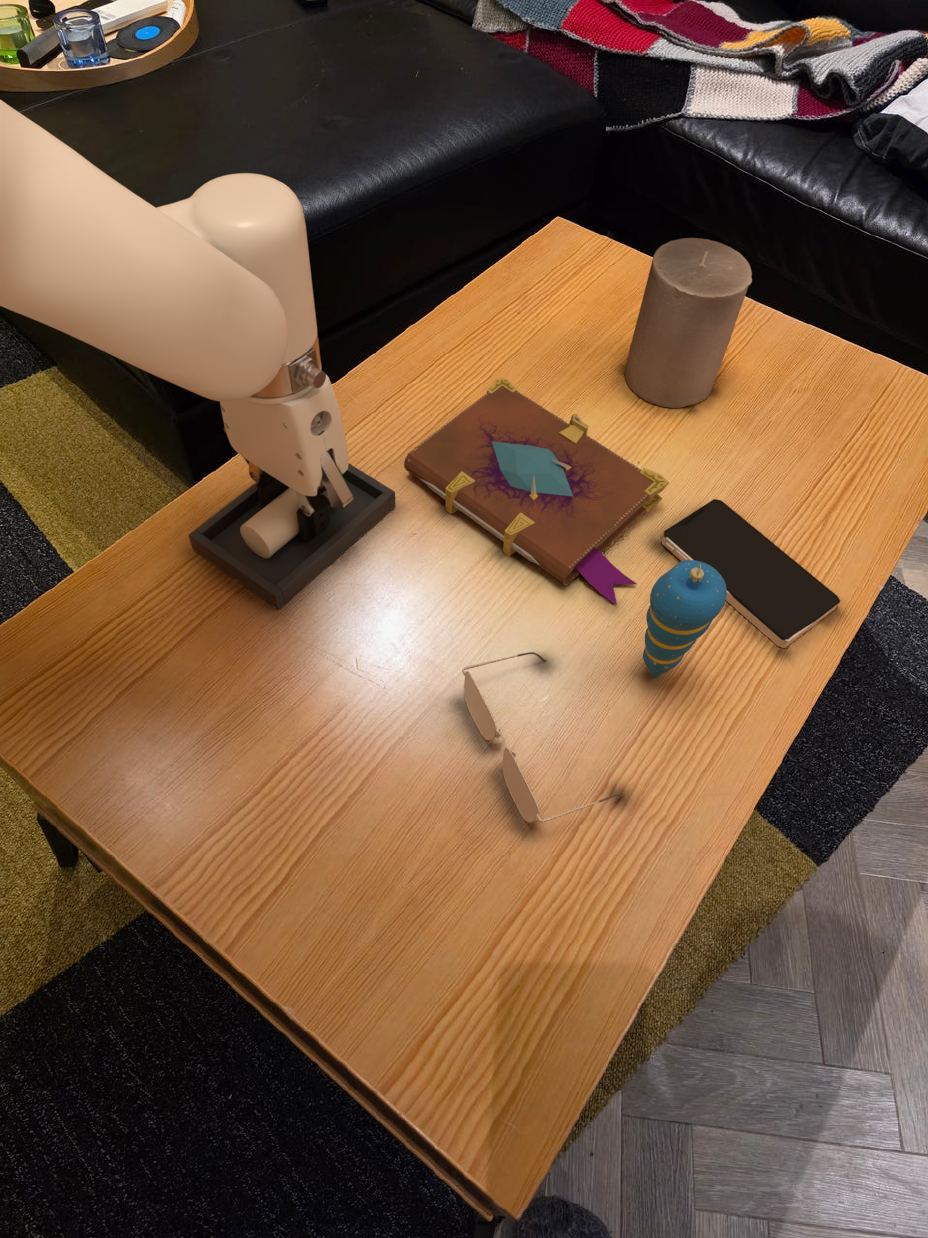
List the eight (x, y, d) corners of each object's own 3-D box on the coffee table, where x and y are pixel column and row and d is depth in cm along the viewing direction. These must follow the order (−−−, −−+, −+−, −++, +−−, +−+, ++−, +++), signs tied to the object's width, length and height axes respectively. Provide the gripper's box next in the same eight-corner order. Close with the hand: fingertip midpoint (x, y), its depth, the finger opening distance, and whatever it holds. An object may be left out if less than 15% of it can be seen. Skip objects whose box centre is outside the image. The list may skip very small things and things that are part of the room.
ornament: (686, 658, 74) (740, 544, 62) (681, 709, 71) (737, 600, 59) (626, 645, 75) (667, 529, 63) (619, 696, 72) (660, 585, 60)
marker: (275, 563, 77) (261, 531, 74) (249, 551, 79) (234, 520, 76) (351, 498, 82) (340, 467, 79) (325, 489, 83) (313, 457, 81)
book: (599, 627, 77) (607, 595, 73) (399, 481, 86) (396, 445, 82) (705, 521, 83) (718, 486, 79) (509, 396, 92) (512, 358, 88)
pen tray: (278, 610, 75) (275, 596, 74) (192, 549, 79) (187, 534, 77) (395, 507, 83) (395, 491, 81) (313, 455, 86) (310, 439, 84)
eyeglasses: (456, 688, 72) (462, 661, 68) (542, 661, 74) (552, 633, 71) (532, 840, 64) (542, 817, 61) (624, 804, 67) (639, 780, 64)
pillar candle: (635, 342, 99) (666, 215, 87) (720, 364, 97) (764, 238, 85) (614, 395, 93) (644, 268, 81) (704, 419, 92) (749, 293, 80)
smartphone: (785, 644, 74) (659, 533, 81) (780, 652, 75) (656, 542, 82) (843, 599, 78) (718, 495, 84) (838, 606, 79) (714, 504, 85)
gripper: (388, 378, 64) (393, 540, 79) (226, 287, 69) (260, 455, 84) (317, 433, 60) (337, 592, 75) (152, 332, 66) (201, 499, 81)
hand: (296, 518), depth 80 cm, fingers open, 4 cm apart
